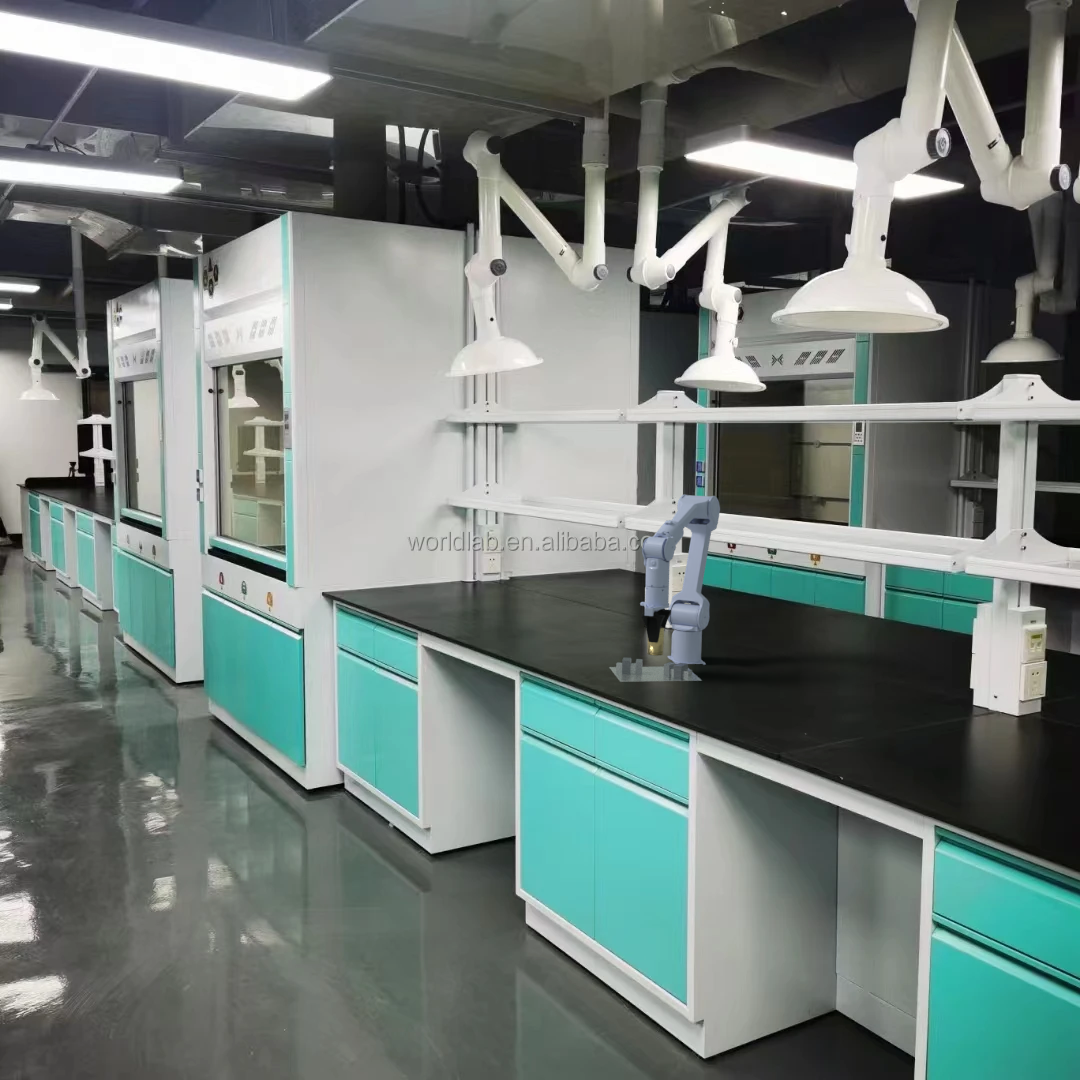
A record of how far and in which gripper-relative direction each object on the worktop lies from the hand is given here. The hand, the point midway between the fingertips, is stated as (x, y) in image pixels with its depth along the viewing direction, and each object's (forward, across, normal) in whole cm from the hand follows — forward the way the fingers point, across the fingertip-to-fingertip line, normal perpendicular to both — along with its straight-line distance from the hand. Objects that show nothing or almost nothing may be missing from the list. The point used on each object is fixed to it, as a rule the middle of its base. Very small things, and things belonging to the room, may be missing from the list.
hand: (655, 640), depth 251 cm
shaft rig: (+9, 0, 0) cm, 9 cm away
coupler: (+3, 0, 0) cm, 3 cm away
